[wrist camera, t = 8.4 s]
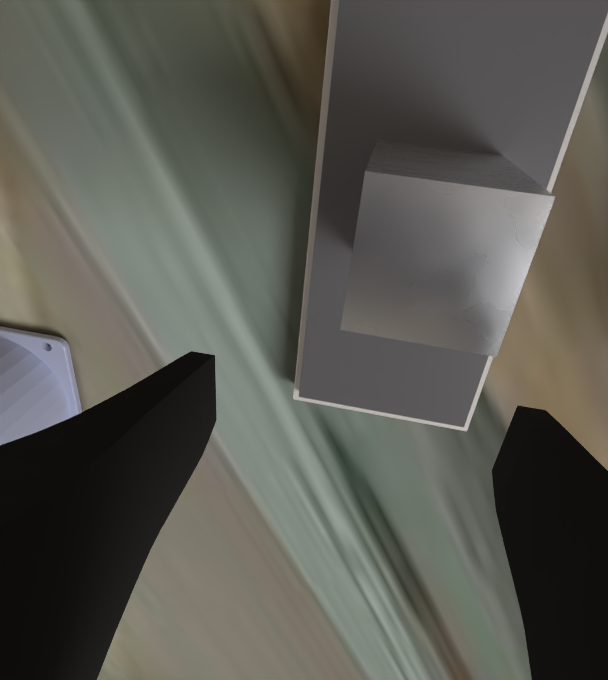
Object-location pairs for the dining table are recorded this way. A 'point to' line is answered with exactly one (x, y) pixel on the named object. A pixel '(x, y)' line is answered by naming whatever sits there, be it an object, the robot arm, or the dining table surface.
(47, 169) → the dining table surface
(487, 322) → the block
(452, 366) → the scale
